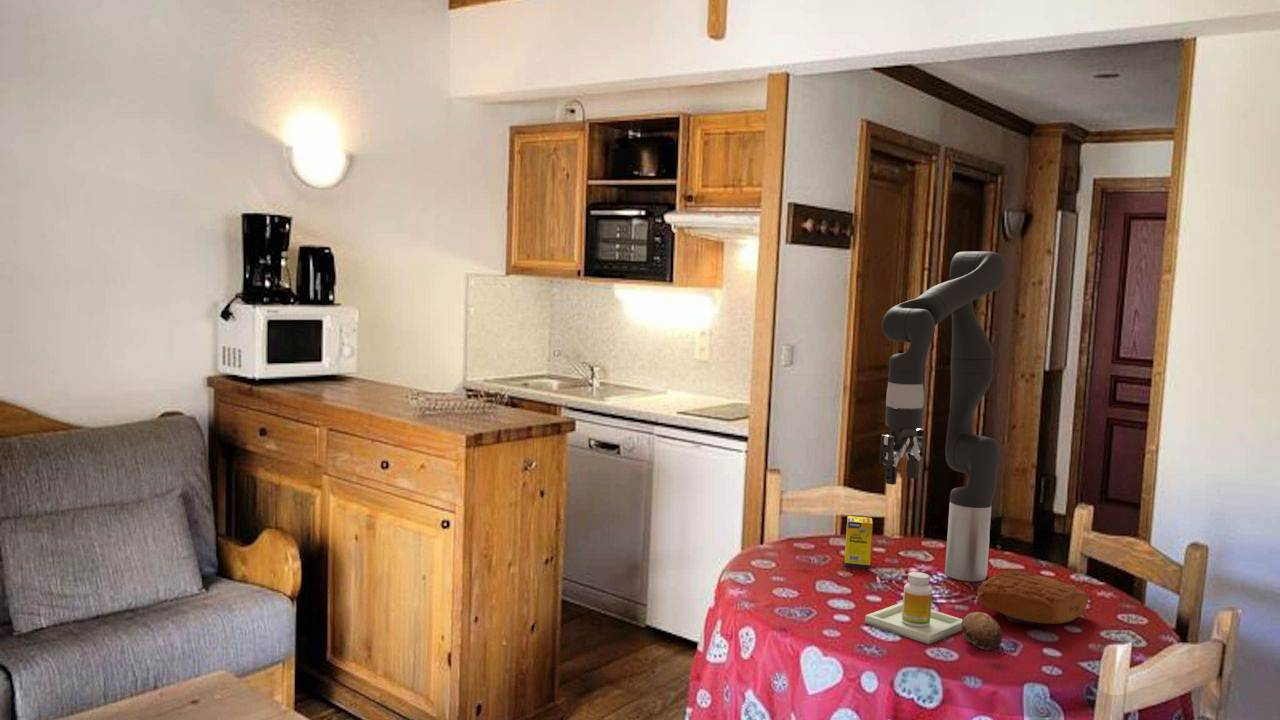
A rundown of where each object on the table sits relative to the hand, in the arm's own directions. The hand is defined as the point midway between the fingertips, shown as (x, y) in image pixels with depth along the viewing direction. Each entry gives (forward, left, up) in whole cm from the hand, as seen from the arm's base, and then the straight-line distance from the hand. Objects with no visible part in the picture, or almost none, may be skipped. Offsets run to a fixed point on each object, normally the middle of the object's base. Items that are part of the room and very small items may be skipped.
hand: (901, 480), depth 206 cm
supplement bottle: (+9, +11, -26) cm, 29 cm away
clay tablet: (-15, +23, -26) cm, 38 cm away
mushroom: (+8, +24, -26) cm, 37 cm away
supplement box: (-18, -21, -26) cm, 38 cm away
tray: (+9, +11, -26) cm, 30 cm away
